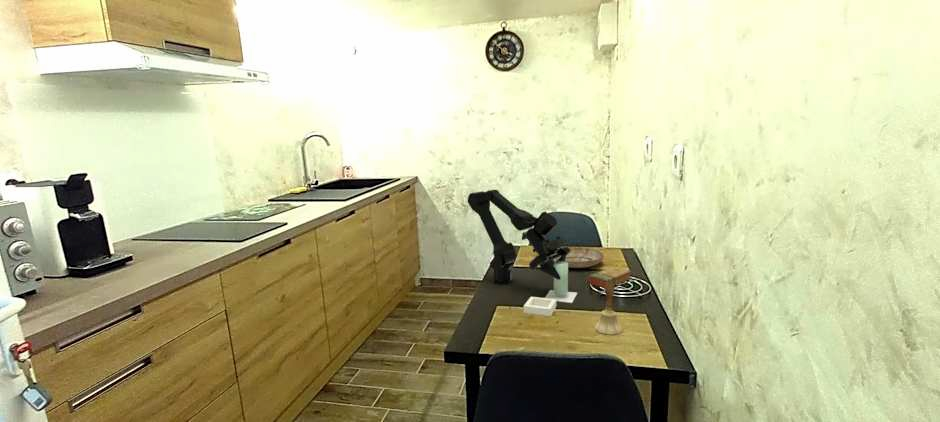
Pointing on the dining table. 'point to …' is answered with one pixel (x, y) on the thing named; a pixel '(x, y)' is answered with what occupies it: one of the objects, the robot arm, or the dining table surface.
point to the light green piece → (562, 283)
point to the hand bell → (608, 314)
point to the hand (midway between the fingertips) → (563, 277)
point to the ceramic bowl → (583, 257)
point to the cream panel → (561, 296)
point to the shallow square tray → (540, 306)
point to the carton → (609, 276)
